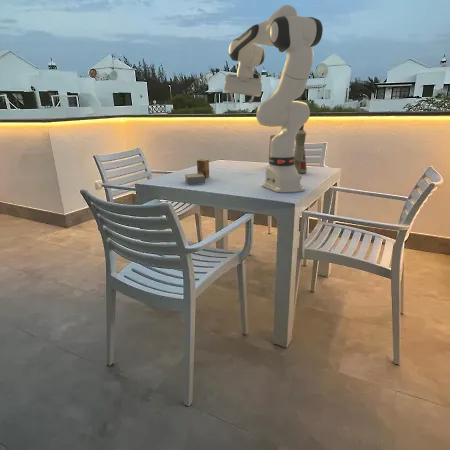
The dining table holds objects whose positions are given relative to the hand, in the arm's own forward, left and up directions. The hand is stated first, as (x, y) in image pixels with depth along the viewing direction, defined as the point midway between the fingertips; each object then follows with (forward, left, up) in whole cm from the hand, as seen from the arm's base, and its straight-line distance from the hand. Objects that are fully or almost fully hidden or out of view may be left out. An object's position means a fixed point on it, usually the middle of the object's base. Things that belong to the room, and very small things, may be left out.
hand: (241, 102), depth 178 cm
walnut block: (-3, +23, -39) cm, 45 cm away
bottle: (-5, -33, -39) cm, 52 cm away
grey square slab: (-13, +29, -40) cm, 50 cm away
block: (+19, -29, -39) cm, 53 cm away
